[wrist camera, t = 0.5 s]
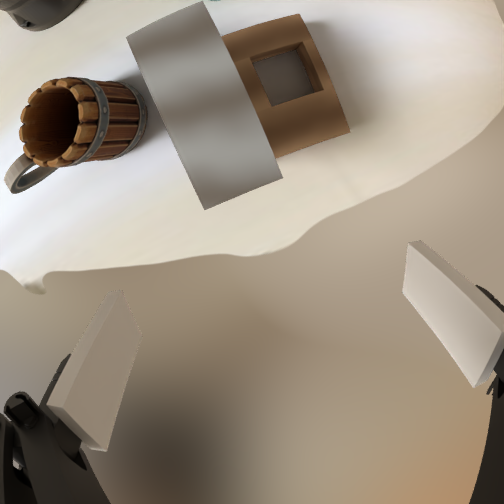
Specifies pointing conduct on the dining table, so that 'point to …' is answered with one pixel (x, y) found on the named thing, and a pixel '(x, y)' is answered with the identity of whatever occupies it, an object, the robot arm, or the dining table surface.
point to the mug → (75, 127)
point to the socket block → (232, 98)
